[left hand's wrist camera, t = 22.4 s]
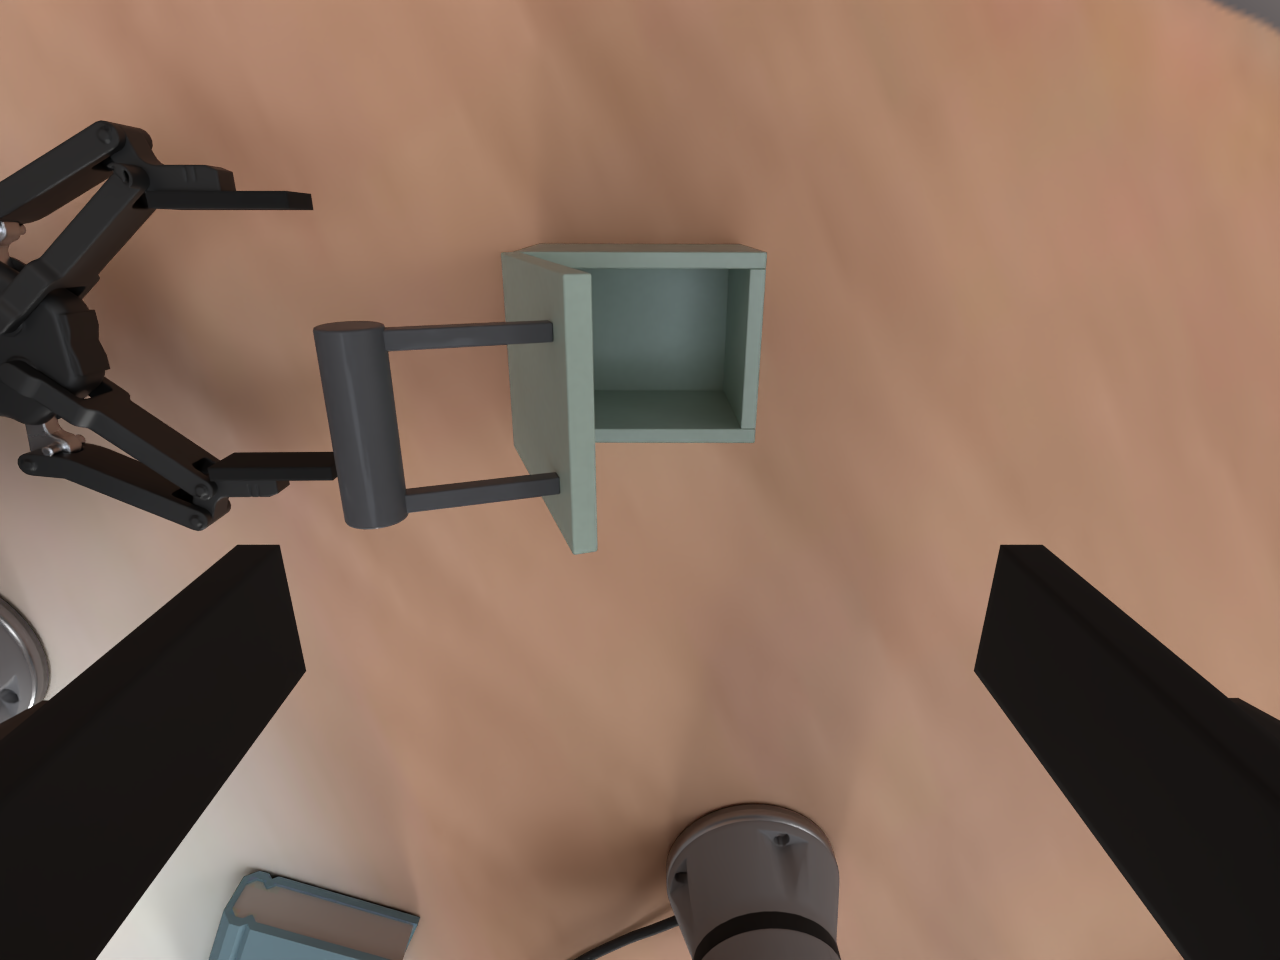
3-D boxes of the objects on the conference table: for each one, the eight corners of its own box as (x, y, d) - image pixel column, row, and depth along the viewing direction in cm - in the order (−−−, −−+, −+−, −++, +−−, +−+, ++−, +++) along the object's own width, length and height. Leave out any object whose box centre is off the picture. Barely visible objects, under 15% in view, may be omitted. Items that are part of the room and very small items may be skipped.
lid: (592, 273, 22) (296, 280, 20) (598, 552, 26) (349, 589, 23) (520, 251, 34) (330, 254, 31) (531, 444, 38) (361, 461, 35)
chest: (741, 243, 43) (767, 251, 34) (733, 399, 47) (754, 443, 38) (538, 243, 43) (512, 251, 34) (546, 398, 47) (524, 442, 38)
